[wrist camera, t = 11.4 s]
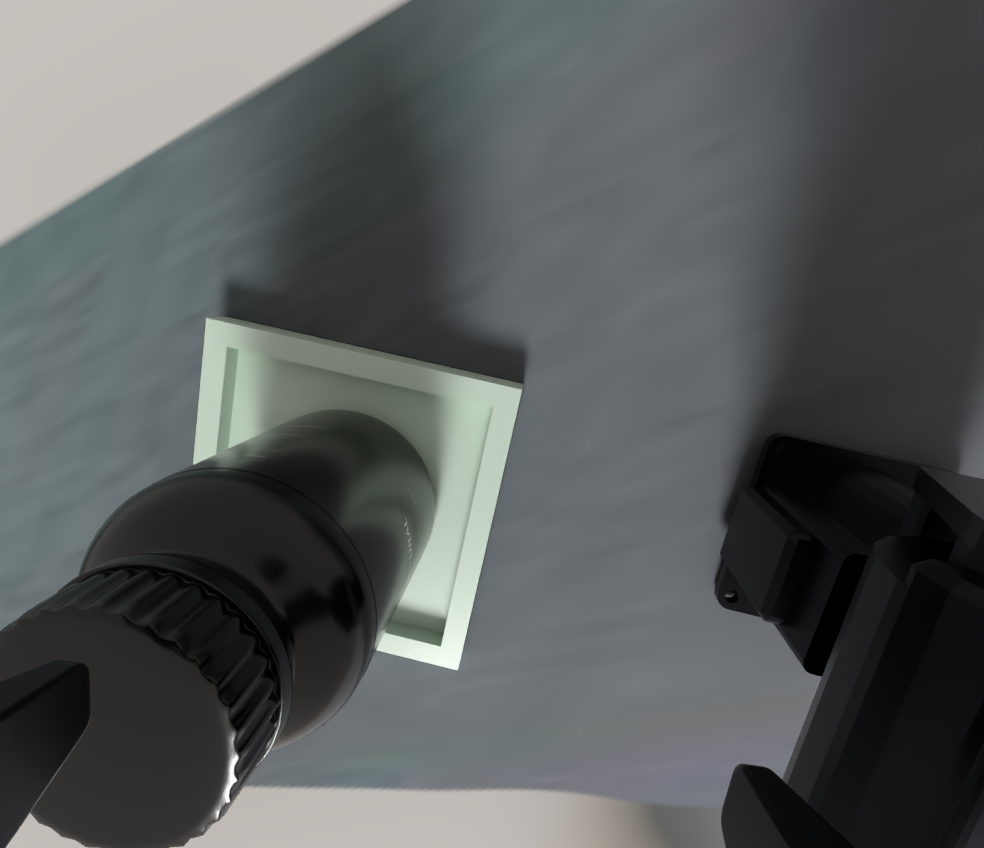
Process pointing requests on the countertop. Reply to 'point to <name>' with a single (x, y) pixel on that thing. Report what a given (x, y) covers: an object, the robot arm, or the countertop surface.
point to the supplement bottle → (225, 621)
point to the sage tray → (408, 409)
